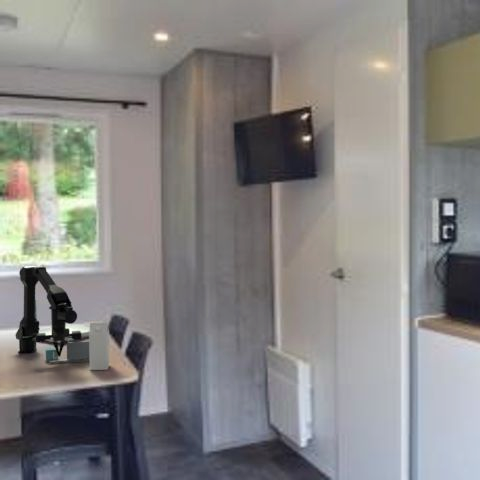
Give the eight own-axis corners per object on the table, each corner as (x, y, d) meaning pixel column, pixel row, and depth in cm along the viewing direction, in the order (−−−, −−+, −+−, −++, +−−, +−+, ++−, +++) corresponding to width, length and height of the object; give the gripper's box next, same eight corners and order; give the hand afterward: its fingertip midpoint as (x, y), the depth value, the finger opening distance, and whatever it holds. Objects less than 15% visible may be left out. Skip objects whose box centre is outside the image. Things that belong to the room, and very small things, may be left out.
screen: (67, 359, 258) (66, 343, 257) (67, 358, 259) (66, 342, 258) (95, 356, 261) (95, 341, 261) (95, 356, 262) (95, 340, 262)
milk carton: (92, 365, 252) (91, 321, 250) (109, 365, 252) (108, 320, 251) (89, 370, 245) (88, 324, 243) (107, 370, 245) (106, 324, 244)
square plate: (101, 335, 310) (101, 328, 309) (59, 346, 287) (59, 338, 286) (65, 329, 324) (65, 322, 324) (23, 339, 301) (22, 332, 301)
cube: (45, 361, 258) (45, 350, 258) (46, 358, 263) (45, 347, 263) (57, 360, 260) (57, 349, 259) (57, 358, 265) (57, 346, 264)
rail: (49, 364, 254) (49, 361, 254) (49, 361, 258) (49, 359, 258) (100, 360, 260) (100, 357, 260) (99, 357, 264) (99, 355, 264)
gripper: (34, 325, 246) (35, 363, 247) (81, 322, 251) (82, 359, 252) (35, 320, 256) (36, 356, 257) (80, 317, 262) (81, 353, 263)
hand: (59, 356), depth 257 cm, fingers closed
